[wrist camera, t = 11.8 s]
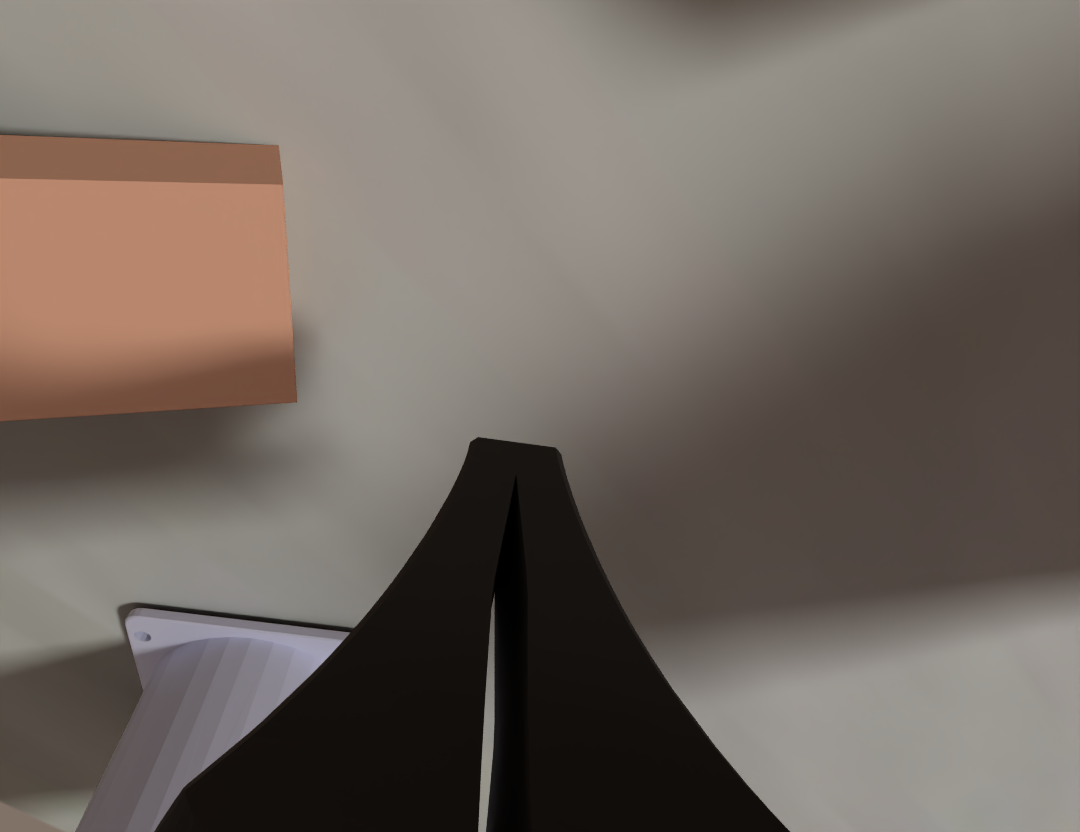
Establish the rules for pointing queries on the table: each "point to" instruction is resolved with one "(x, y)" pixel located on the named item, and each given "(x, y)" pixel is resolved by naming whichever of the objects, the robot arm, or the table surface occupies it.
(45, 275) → the domino
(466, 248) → the table surface
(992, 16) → the table surface
